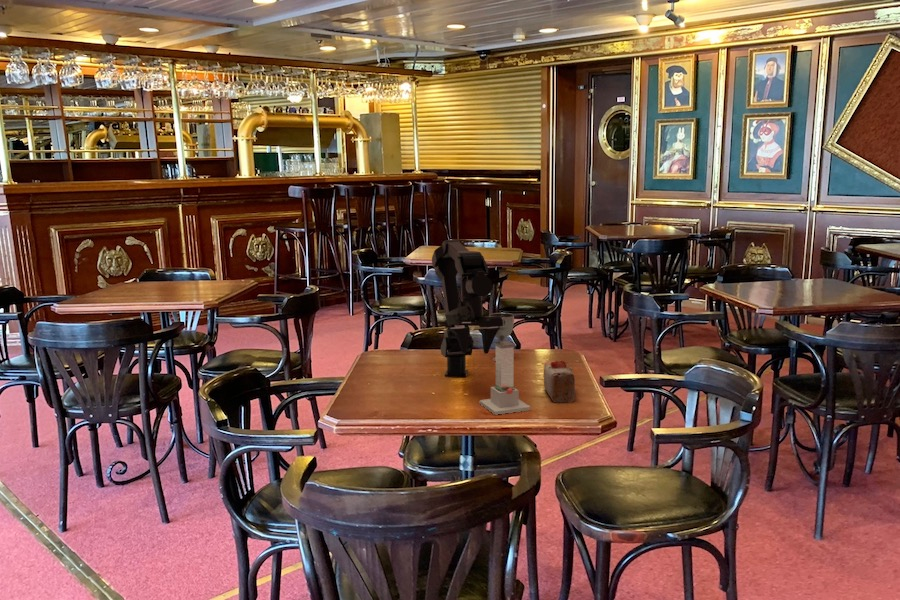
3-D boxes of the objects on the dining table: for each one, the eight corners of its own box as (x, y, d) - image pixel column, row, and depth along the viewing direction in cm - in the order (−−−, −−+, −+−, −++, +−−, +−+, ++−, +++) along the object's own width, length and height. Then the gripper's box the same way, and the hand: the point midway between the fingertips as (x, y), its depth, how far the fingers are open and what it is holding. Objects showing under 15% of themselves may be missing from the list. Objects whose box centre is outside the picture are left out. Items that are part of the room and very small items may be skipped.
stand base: (479, 403, 192) (479, 383, 191) (513, 399, 195) (513, 378, 194) (495, 415, 183) (495, 393, 182) (530, 410, 186) (530, 388, 185)
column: (494, 388, 189) (494, 342, 187) (508, 386, 191) (508, 340, 188) (500, 392, 186) (500, 345, 183) (514, 390, 187) (514, 344, 185)
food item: (540, 388, 205) (541, 355, 203) (568, 387, 205) (568, 354, 204) (549, 403, 191) (550, 368, 190) (579, 402, 192) (580, 367, 190)
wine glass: (485, 358, 239) (485, 314, 236) (505, 355, 242) (505, 311, 240) (497, 363, 232) (497, 318, 229) (518, 360, 235) (518, 315, 233)
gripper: (428, 299, 202) (431, 355, 202) (471, 297, 188) (475, 356, 188) (458, 298, 209) (461, 351, 209) (502, 295, 195) (506, 352, 195)
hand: (475, 353), depth 200 cm, fingers open, 9 cm apart
